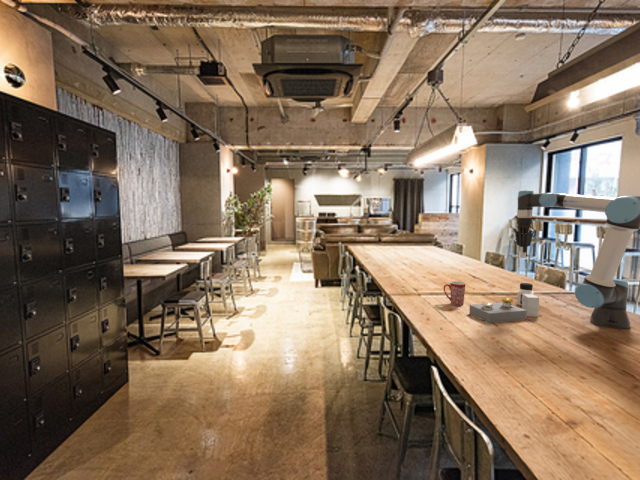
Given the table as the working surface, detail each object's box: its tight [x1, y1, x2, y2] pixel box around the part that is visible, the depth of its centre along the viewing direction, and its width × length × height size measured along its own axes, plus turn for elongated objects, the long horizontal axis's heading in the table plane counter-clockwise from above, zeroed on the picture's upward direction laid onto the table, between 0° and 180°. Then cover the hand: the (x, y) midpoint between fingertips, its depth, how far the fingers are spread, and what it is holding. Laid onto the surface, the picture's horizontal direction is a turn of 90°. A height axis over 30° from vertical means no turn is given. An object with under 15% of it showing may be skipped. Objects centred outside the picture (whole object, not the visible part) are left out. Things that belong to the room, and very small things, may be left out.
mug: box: [443, 280, 467, 307], centre depth 206 cm, size 13×9×14 cm
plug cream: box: [481, 301, 493, 310], centre depth 180 cm, size 5×5×7 cm
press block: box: [468, 301, 527, 324], centre depth 181 cm, size 16×22×5 cm
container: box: [516, 282, 535, 306], centre depth 203 cm, size 8×8×13 cm
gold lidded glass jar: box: [501, 297, 514, 308], centre depth 182 cm, size 5×5×7 cm
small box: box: [521, 294, 540, 317], centre depth 184 cm, size 8×6×10 cm
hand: (522, 257), depth 196 cm, fingers closed
